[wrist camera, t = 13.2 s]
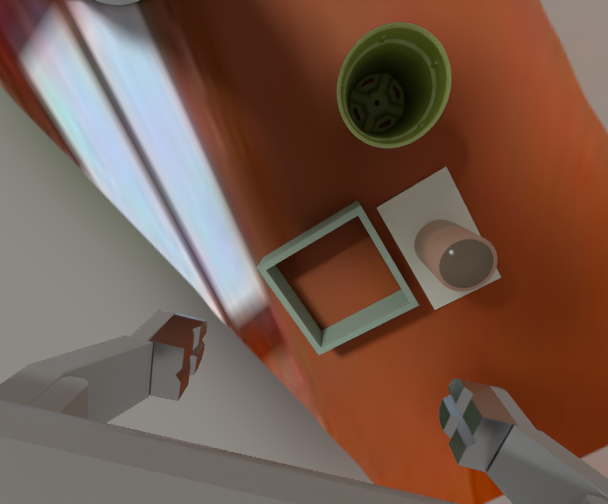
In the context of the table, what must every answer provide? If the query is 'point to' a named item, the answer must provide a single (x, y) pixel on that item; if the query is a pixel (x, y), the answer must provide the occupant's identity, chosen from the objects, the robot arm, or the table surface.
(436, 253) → the seedling pot
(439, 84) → the plant pot
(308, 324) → the frame
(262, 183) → the table surface
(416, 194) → the mat
